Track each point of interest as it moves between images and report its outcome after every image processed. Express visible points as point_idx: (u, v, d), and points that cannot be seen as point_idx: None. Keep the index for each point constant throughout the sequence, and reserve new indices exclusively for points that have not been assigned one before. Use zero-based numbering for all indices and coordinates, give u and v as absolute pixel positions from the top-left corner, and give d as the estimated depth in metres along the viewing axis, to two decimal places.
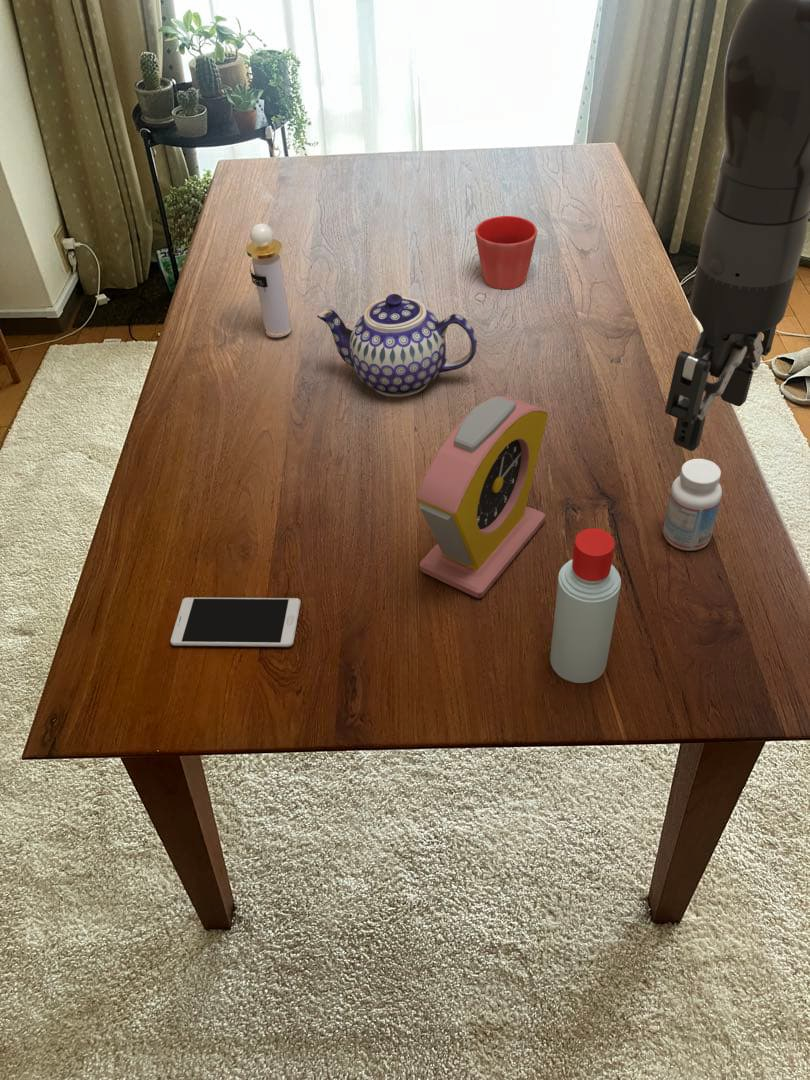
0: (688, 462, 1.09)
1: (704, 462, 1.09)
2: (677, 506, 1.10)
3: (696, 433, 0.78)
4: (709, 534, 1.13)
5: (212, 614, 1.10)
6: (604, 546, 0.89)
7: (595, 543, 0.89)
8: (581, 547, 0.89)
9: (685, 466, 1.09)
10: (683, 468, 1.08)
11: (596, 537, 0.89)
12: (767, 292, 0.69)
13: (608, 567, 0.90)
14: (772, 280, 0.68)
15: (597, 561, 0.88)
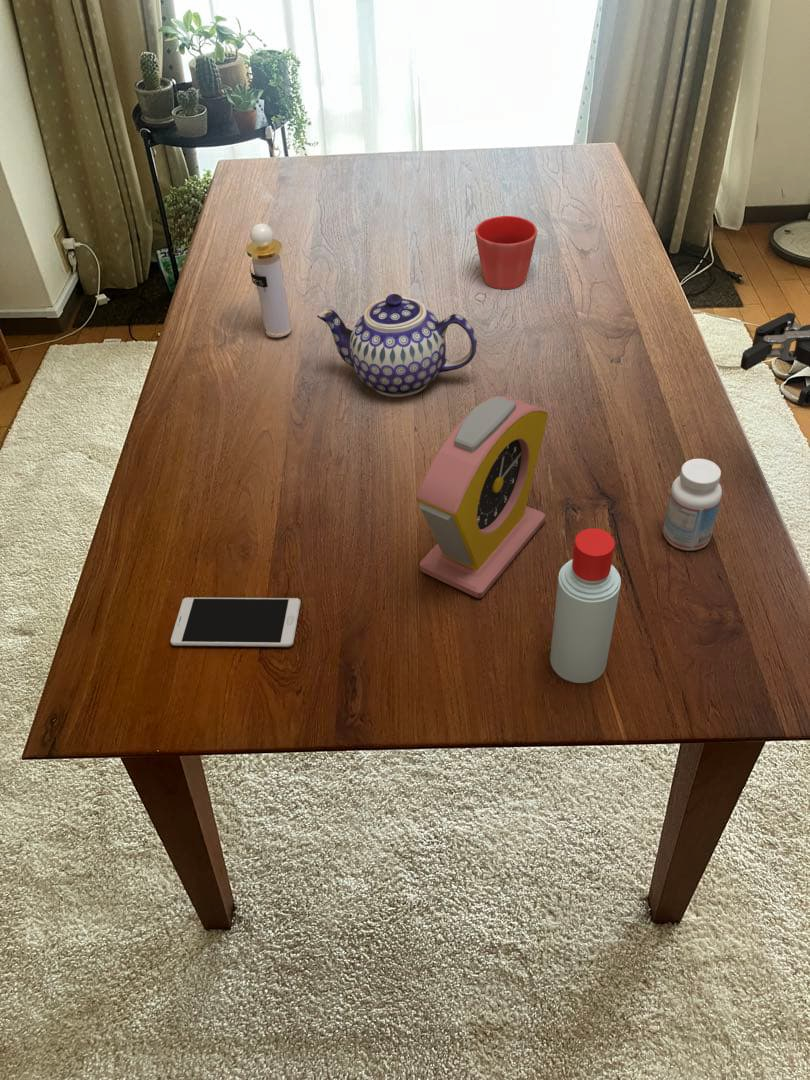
0: (688, 462, 1.09)
1: (704, 462, 1.09)
2: (677, 506, 1.10)
3: None
4: (709, 534, 1.13)
5: (212, 614, 1.10)
6: (604, 546, 0.89)
7: (595, 543, 0.89)
8: (581, 547, 0.89)
9: (685, 466, 1.09)
10: (683, 468, 1.08)
11: (596, 537, 0.89)
12: None
13: (608, 567, 0.90)
14: None
15: (597, 561, 0.88)
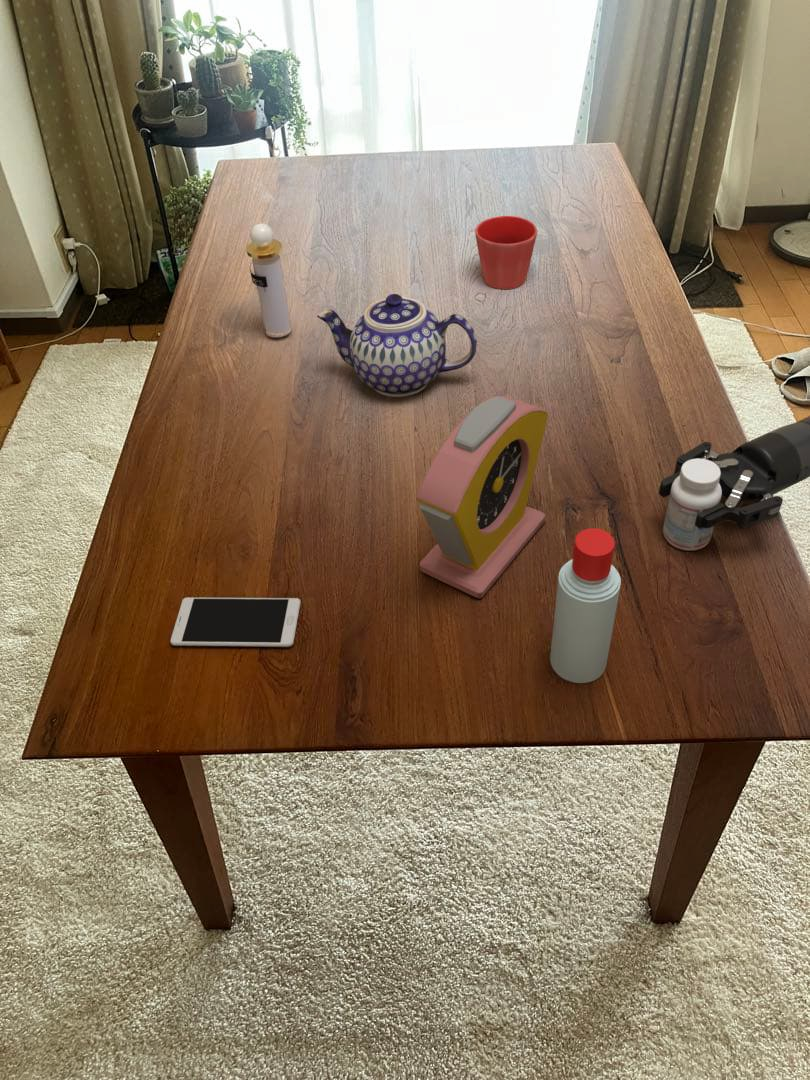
0: (688, 462, 1.09)
1: (704, 462, 1.09)
2: (677, 506, 1.10)
3: None
4: (709, 534, 1.13)
5: (212, 614, 1.10)
6: (604, 546, 0.89)
7: (595, 543, 0.89)
8: (581, 547, 0.89)
9: (685, 466, 1.09)
10: (683, 468, 1.08)
11: (596, 537, 0.89)
12: (767, 433, 1.15)
13: (608, 567, 0.90)
14: (774, 431, 1.15)
15: (597, 561, 0.88)
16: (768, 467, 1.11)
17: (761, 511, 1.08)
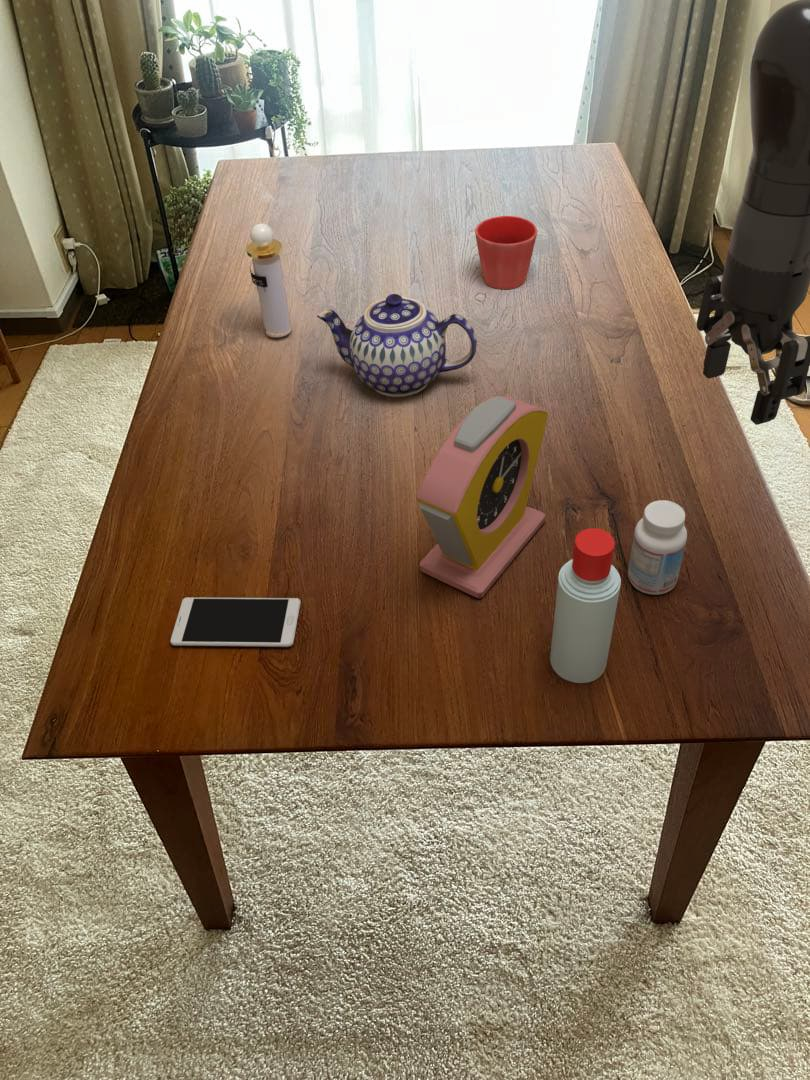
0: (652, 504, 1.04)
1: (668, 504, 1.04)
2: (640, 549, 1.05)
3: None
4: (675, 578, 1.08)
5: (212, 614, 1.10)
6: (604, 546, 0.89)
7: (595, 543, 0.89)
8: (581, 547, 0.89)
9: (648, 508, 1.04)
10: (646, 511, 1.04)
11: (596, 537, 0.89)
12: None
13: (608, 567, 0.90)
14: None
15: (597, 561, 0.88)
16: None
17: (789, 376, 0.81)
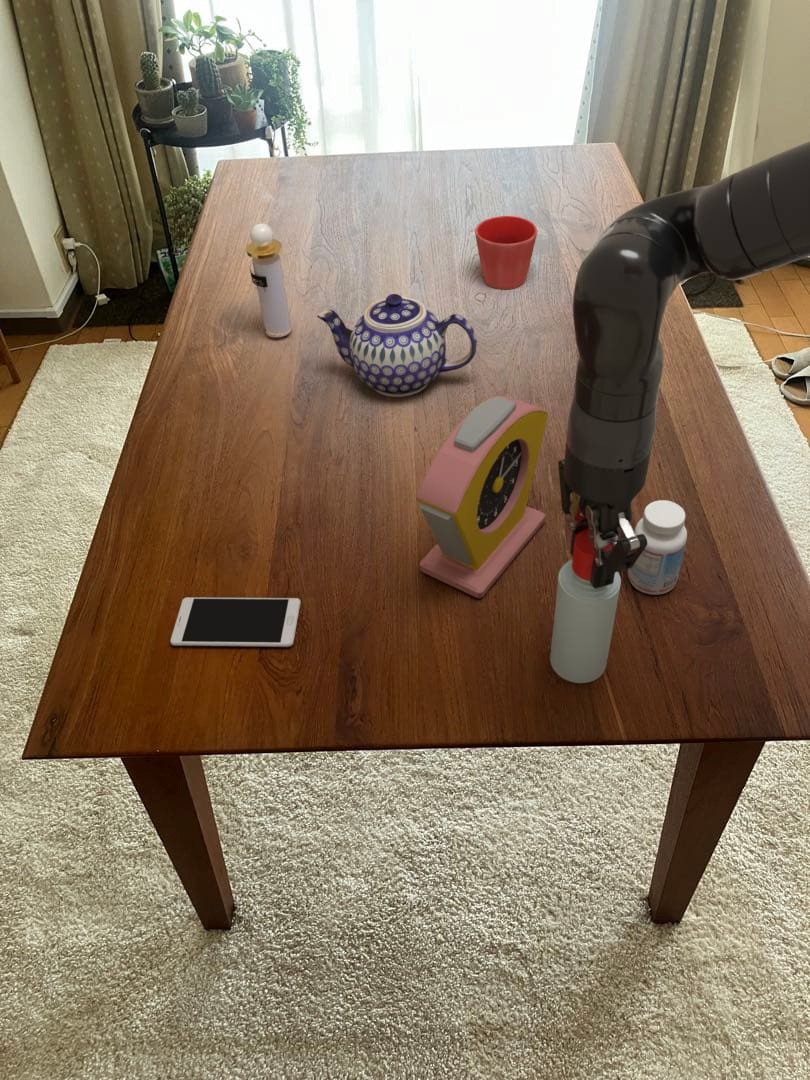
0: (651, 504, 1.04)
1: (668, 504, 1.04)
2: None
3: None
4: (675, 578, 1.08)
5: (212, 614, 1.10)
6: None
7: None
8: (581, 547, 0.89)
9: (648, 508, 1.04)
10: (646, 511, 1.04)
11: None
12: None
13: None
14: None
15: None
16: None
17: (619, 564, 0.83)
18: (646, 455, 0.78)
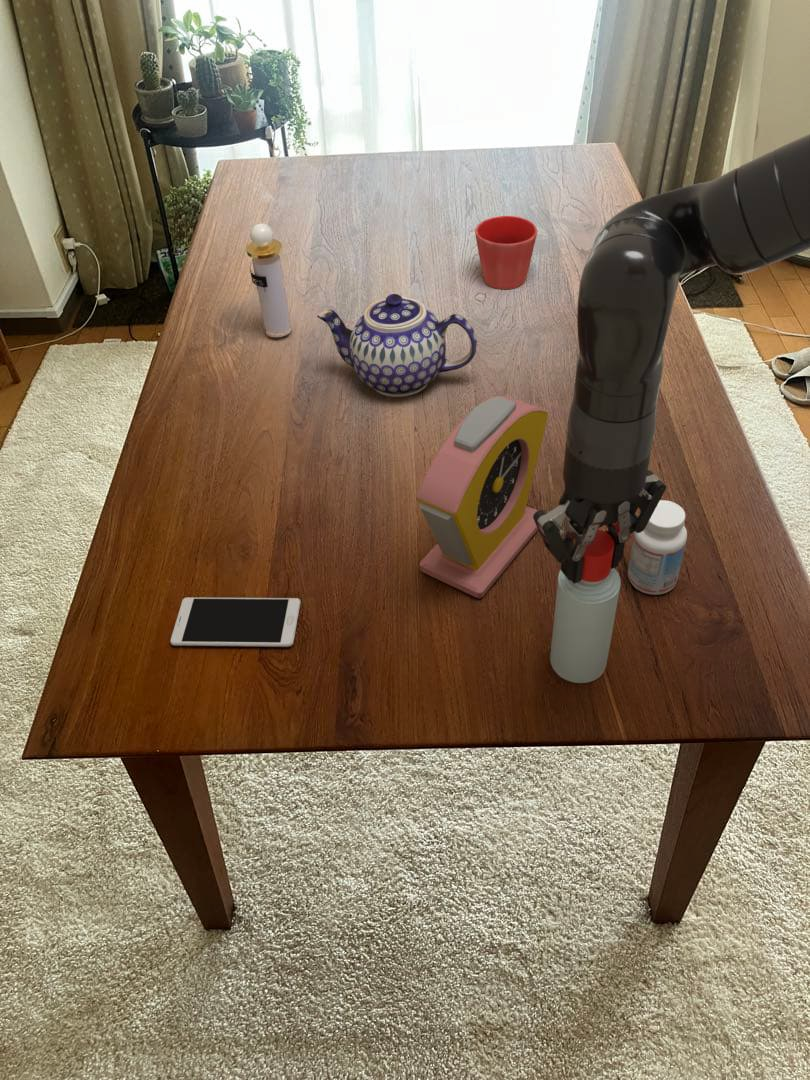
0: None
1: (668, 504, 1.04)
2: (640, 549, 1.05)
3: (575, 570, 0.89)
4: (675, 578, 1.08)
5: (212, 614, 1.10)
6: (599, 535, 0.89)
7: (596, 542, 0.89)
8: (605, 552, 0.88)
9: None
10: None
11: None
12: (605, 473, 0.78)
13: None
14: (608, 465, 0.77)
15: None
16: None
17: None
18: None
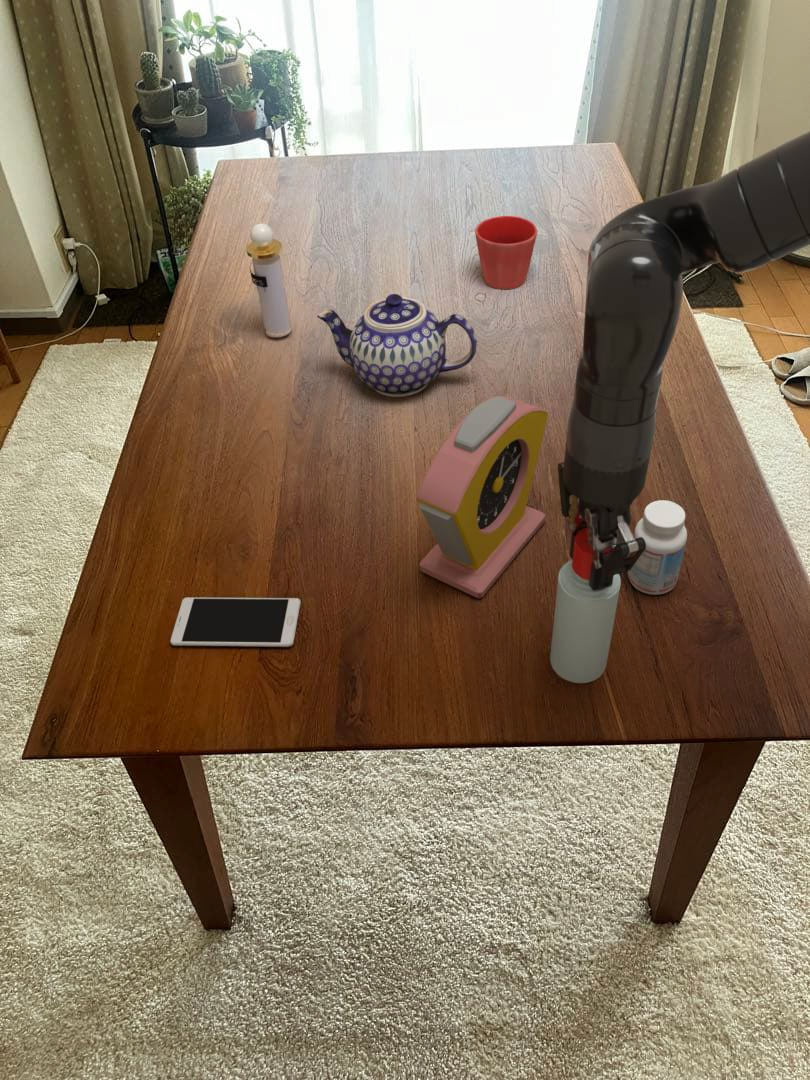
0: (652, 504, 1.04)
1: (668, 504, 1.04)
2: None
3: None
4: (675, 578, 1.08)
5: (212, 614, 1.10)
6: (585, 535, 0.89)
7: None
8: None
9: (648, 508, 1.04)
10: (646, 511, 1.04)
11: None
12: None
13: None
14: None
15: None
16: None
17: None
18: None
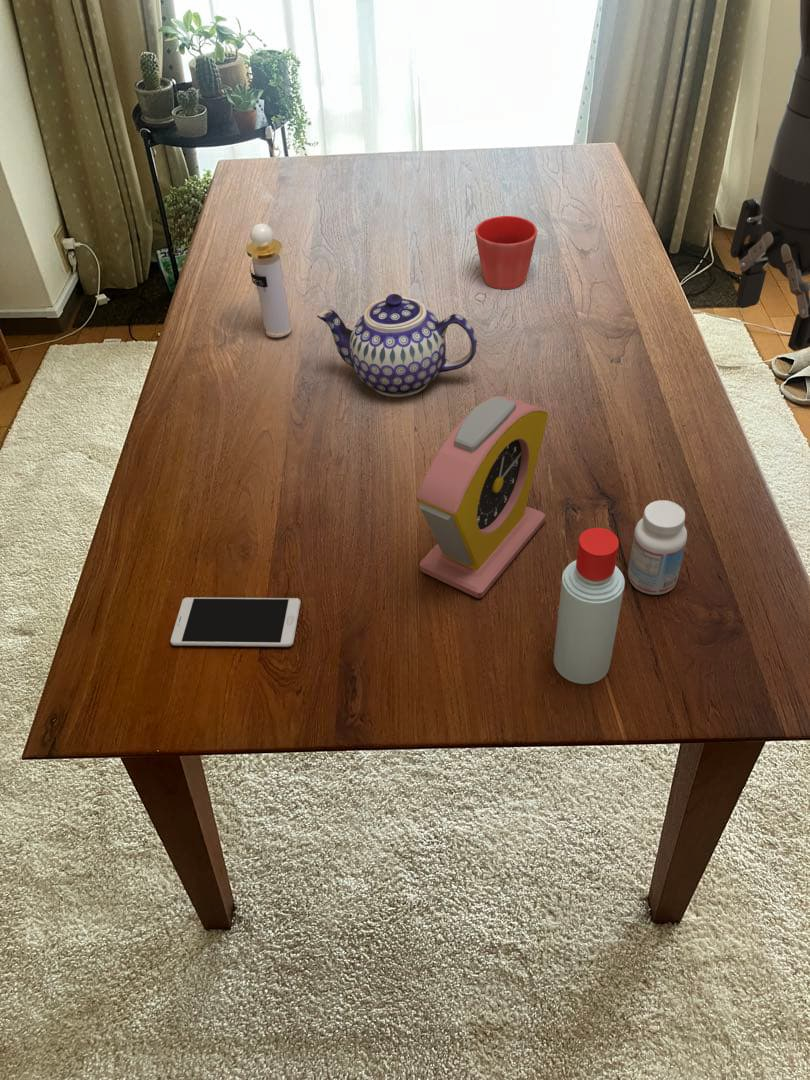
0: (652, 504, 1.04)
1: (668, 504, 1.04)
2: (640, 549, 1.05)
3: None
4: (675, 578, 1.08)
5: (212, 614, 1.10)
6: (589, 536, 0.89)
7: (598, 539, 0.89)
8: (612, 535, 0.89)
9: (648, 508, 1.04)
10: (646, 511, 1.04)
11: (597, 545, 0.88)
12: None
13: None
14: None
15: None
16: None
17: None
18: None
